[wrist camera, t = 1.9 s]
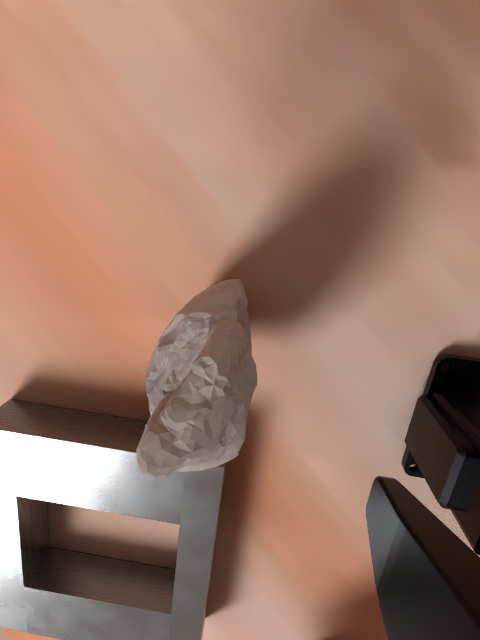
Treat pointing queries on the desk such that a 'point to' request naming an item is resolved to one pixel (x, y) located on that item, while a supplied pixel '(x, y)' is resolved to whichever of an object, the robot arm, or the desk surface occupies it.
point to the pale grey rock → (199, 385)
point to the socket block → (104, 495)
